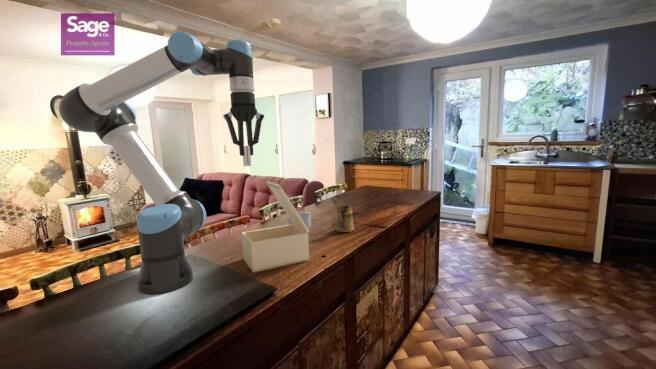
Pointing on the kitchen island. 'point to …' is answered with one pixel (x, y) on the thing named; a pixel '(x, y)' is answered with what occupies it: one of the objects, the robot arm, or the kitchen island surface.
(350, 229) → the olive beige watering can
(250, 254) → the carton
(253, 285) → the kitchen island surface
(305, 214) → the teacup
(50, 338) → the kitchen island surface
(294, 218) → the lid
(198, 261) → the kitchen island surface
